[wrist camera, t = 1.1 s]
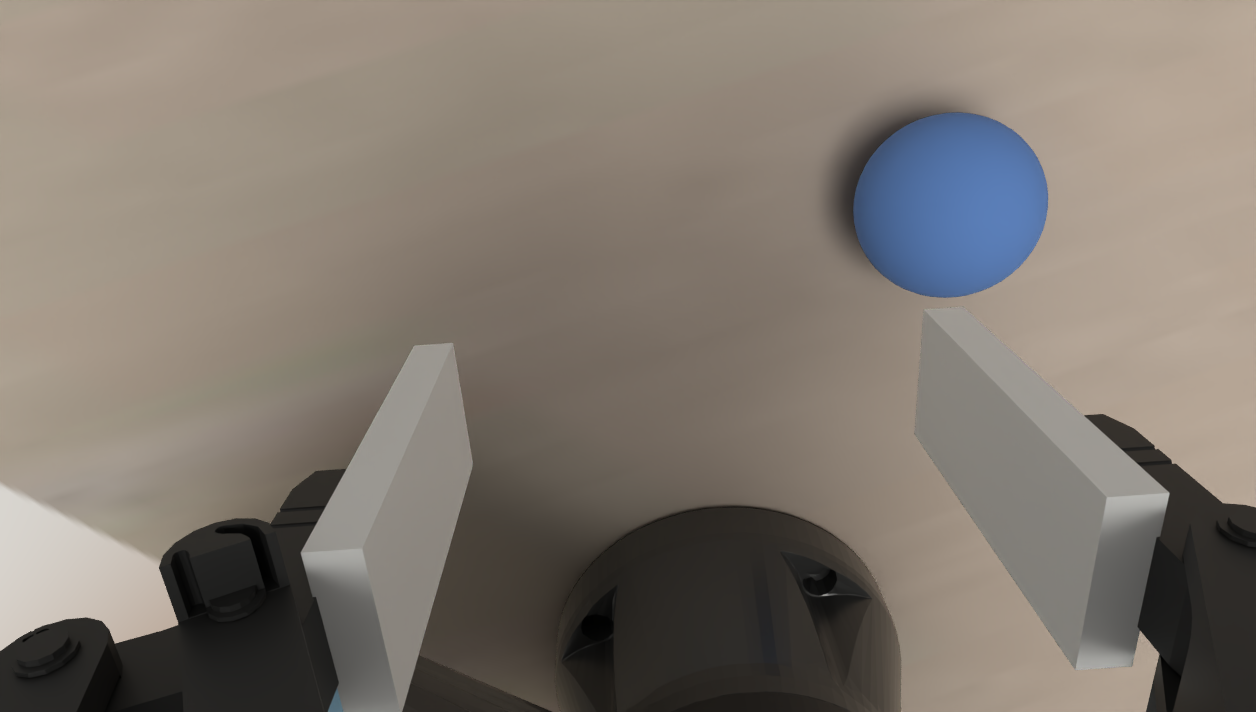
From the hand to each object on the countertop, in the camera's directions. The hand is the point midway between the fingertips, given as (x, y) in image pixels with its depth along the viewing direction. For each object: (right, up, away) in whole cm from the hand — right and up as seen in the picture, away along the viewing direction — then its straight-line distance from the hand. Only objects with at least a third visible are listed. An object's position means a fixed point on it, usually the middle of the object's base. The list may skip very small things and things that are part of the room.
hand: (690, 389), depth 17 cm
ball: (+9, +6, +11) cm, 16 cm away
